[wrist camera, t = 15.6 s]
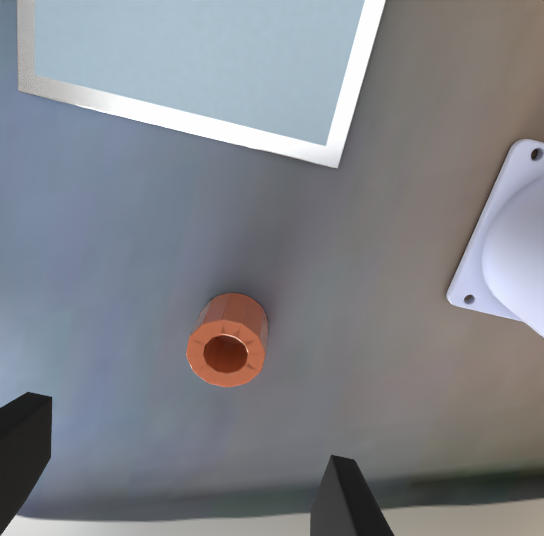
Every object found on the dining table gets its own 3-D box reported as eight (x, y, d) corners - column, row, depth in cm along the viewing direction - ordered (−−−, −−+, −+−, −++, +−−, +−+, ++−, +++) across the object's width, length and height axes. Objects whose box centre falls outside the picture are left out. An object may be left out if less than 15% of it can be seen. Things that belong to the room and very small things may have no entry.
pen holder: (274, 301, 19) (272, 330, 17) (259, 358, 21) (255, 394, 18) (206, 285, 19) (192, 312, 16) (196, 344, 21) (181, 378, 18)
